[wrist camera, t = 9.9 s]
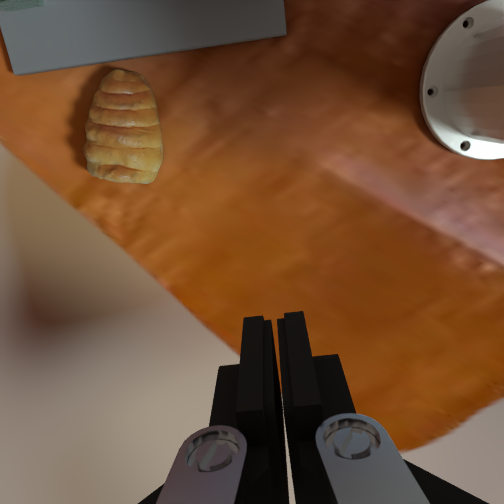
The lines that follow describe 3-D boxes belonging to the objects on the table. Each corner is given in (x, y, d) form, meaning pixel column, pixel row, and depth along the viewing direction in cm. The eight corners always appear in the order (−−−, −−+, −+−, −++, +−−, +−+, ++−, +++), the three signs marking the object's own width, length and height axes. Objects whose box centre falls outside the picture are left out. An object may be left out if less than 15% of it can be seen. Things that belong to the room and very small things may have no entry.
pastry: (91, 66, 37) (73, 62, 33) (170, 76, 37) (160, 73, 33) (91, 175, 40) (75, 182, 36) (164, 184, 40) (154, 192, 36)
